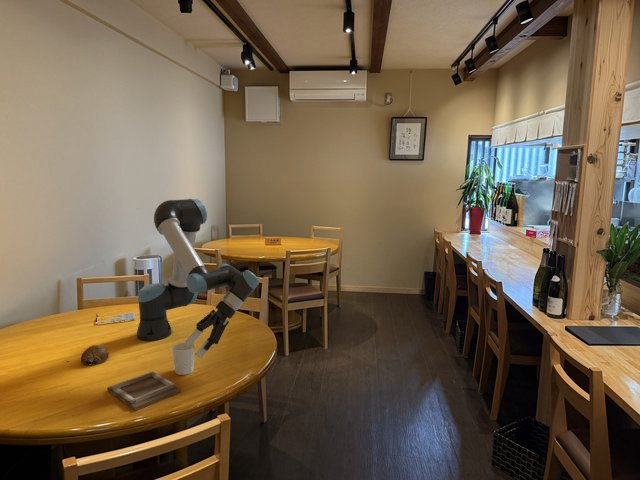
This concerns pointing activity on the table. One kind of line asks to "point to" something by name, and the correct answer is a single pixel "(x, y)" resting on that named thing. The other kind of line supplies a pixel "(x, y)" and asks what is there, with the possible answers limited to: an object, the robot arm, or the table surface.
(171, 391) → the keeper board
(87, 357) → the bread roll
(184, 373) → the white cup
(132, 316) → the snack bag
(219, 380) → the table surface
